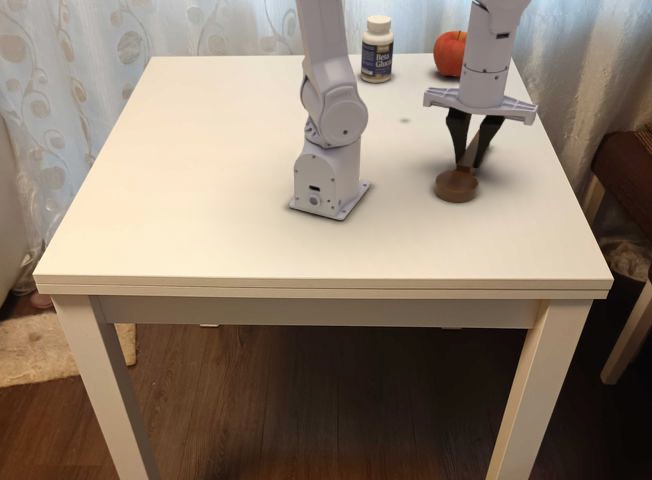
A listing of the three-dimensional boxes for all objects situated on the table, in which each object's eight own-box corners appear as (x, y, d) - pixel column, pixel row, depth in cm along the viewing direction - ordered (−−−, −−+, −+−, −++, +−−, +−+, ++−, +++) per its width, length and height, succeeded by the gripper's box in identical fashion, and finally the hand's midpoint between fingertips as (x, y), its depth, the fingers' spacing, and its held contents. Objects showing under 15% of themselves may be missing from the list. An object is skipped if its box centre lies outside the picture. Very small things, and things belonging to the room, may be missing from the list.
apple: (464, 65, 116) (471, 18, 110) (478, 81, 111) (486, 33, 105) (425, 68, 115) (430, 21, 109) (437, 85, 110) (443, 37, 104)
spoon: (464, 142, 96) (466, 126, 94) (501, 150, 94) (504, 133, 92) (429, 197, 86) (431, 179, 84) (469, 206, 84) (472, 189, 82)
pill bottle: (376, 86, 110) (379, 26, 104) (354, 77, 113) (356, 19, 106) (397, 77, 113) (401, 18, 106) (375, 68, 116) (378, 10, 109)
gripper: (552, 60, 79) (527, 160, 89) (439, 44, 84) (428, 140, 94) (539, 82, 75) (515, 184, 84) (422, 64, 80) (412, 162, 89)
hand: (468, 163), depth 89 cm, fingers closed on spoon, 2 cm apart
